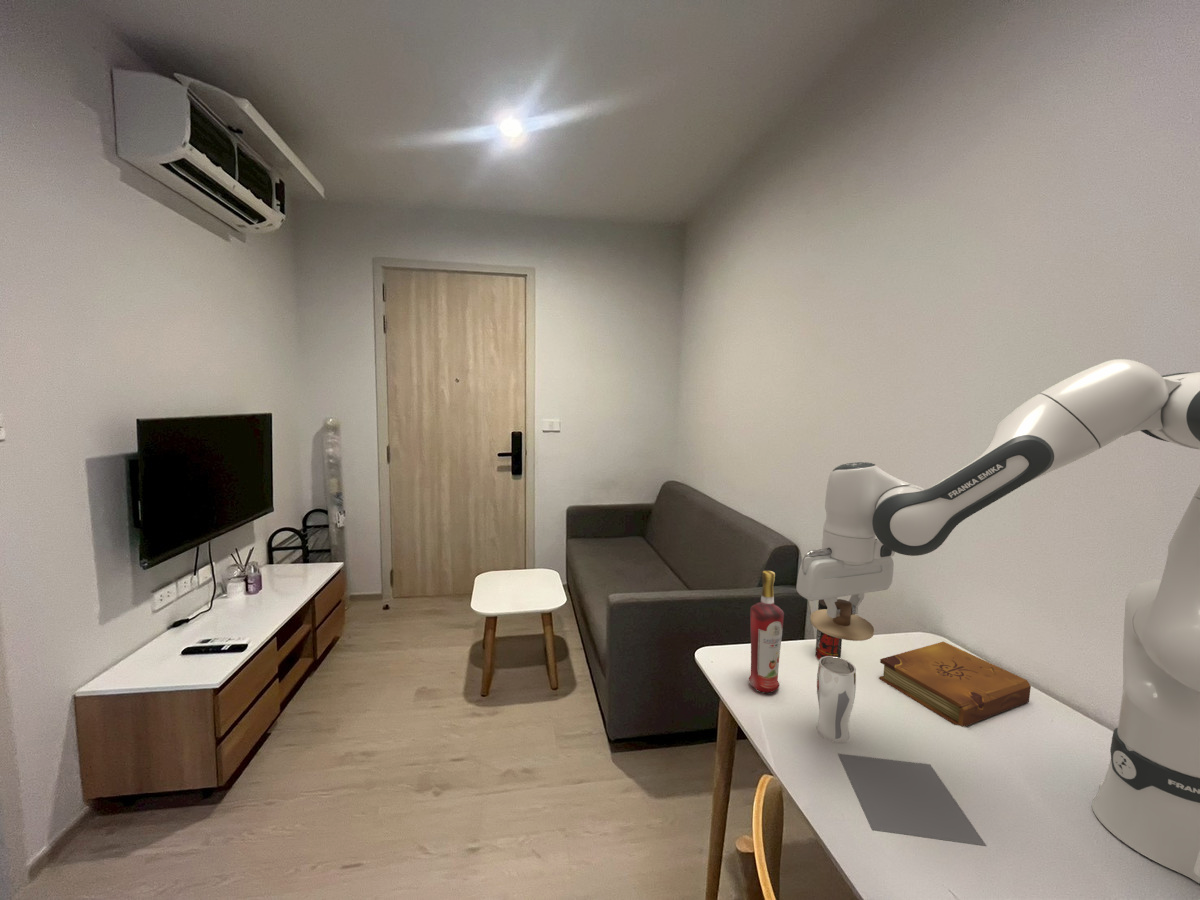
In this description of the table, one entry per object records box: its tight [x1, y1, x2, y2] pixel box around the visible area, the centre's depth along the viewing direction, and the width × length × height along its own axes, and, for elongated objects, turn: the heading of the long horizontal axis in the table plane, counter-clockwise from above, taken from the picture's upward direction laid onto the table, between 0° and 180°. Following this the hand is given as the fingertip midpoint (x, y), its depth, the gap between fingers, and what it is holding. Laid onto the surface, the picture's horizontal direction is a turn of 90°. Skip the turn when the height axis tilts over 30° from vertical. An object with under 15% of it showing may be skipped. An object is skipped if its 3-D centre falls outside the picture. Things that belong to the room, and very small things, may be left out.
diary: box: [878, 641, 1032, 728], centre depth 109 cm, size 23×19×6 cm
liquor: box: [748, 570, 785, 694], centre depth 108 cm, size 7×7×28 cm
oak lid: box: [810, 598, 875, 642], centre depth 91 cm, size 11×11×5 cm
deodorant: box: [815, 599, 843, 661], centre depth 122 cm, size 6×6×15 cm
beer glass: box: [816, 656, 857, 744], centre depth 94 cm, size 7×7×15 cm
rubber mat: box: [837, 753, 987, 847], centre depth 79 cm, size 16×16×1 cm
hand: (842, 615), depth 91 cm, fingers closed on oak lid, 3 cm apart
